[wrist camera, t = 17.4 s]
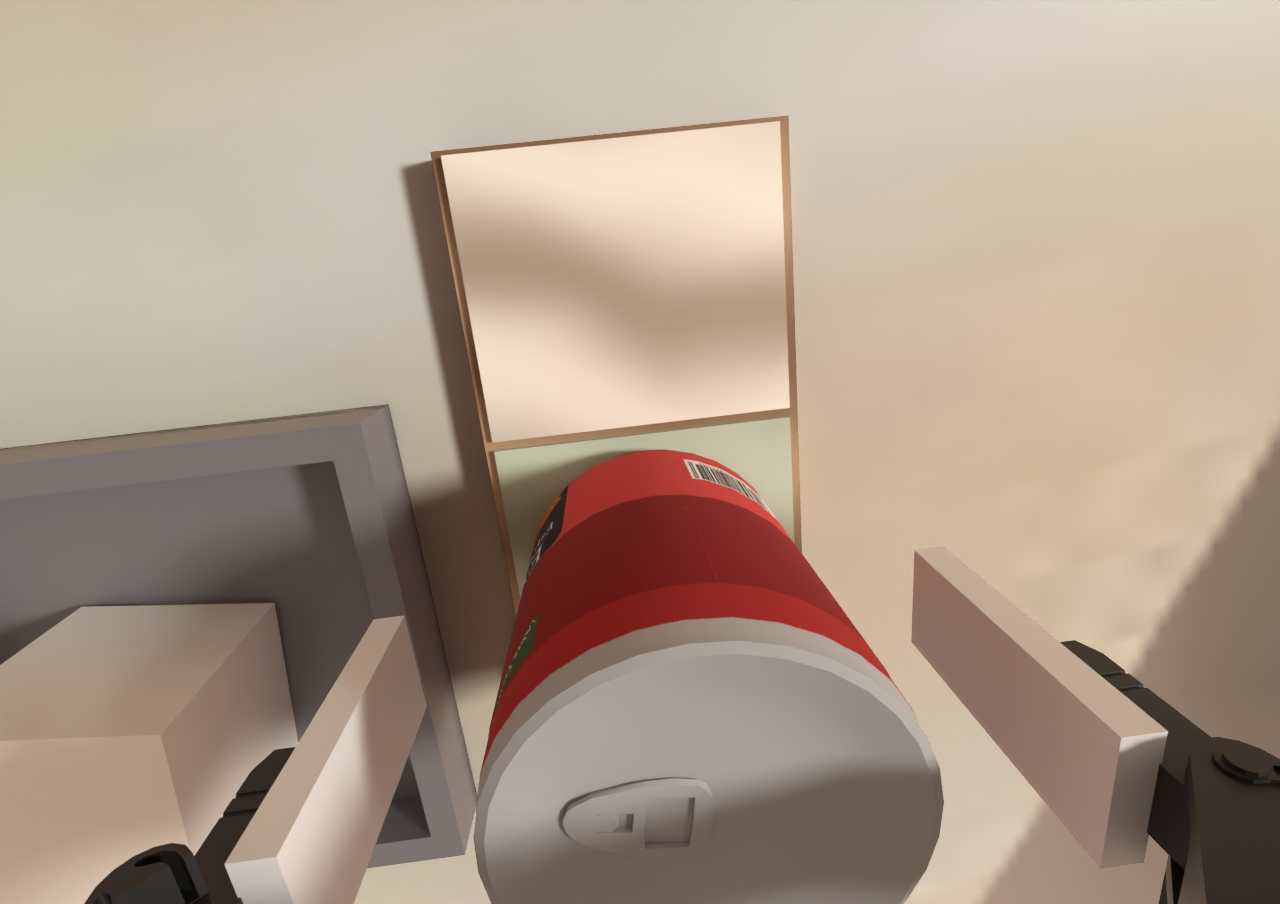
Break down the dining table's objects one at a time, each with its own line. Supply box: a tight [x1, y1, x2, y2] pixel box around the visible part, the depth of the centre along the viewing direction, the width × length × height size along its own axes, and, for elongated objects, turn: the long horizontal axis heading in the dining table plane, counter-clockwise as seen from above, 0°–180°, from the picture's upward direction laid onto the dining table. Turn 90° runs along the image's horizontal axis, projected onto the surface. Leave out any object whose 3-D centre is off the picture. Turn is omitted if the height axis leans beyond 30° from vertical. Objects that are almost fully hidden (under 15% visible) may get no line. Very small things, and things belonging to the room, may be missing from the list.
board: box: [431, 116, 802, 616], centre depth 20 cm, size 37×13×1 cm, turn 6°
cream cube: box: [0, 603, 298, 904], centre depth 19 cm, size 6×6×6 cm
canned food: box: [474, 450, 944, 904], centre depth 16 cm, size 8×8×11 cm
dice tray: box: [0, 405, 477, 868], centre depth 21 cm, size 16×16×2 cm
